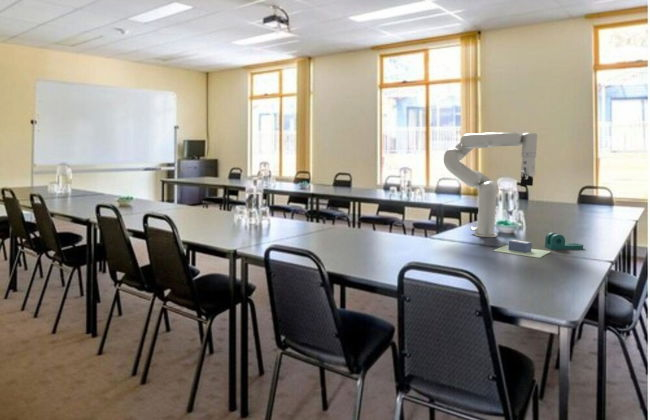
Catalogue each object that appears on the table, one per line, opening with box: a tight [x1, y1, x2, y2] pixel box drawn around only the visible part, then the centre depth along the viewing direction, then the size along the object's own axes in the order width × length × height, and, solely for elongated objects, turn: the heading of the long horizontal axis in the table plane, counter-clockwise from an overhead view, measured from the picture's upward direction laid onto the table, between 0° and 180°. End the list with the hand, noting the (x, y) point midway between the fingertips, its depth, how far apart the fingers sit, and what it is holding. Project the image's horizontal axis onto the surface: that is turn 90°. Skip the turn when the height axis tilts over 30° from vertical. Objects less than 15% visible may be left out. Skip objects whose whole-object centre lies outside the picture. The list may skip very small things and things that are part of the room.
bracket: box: [544, 231, 584, 251], centre depth 243 cm, size 18×7×8 cm, turn 93°
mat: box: [492, 244, 551, 259], centre depth 233 cm, size 22×18×1 cm
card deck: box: [508, 239, 533, 253], centre depth 234 cm, size 6×9×5 cm, turn 41°
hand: (526, 186), depth 263 cm, fingers open, 9 cm apart
